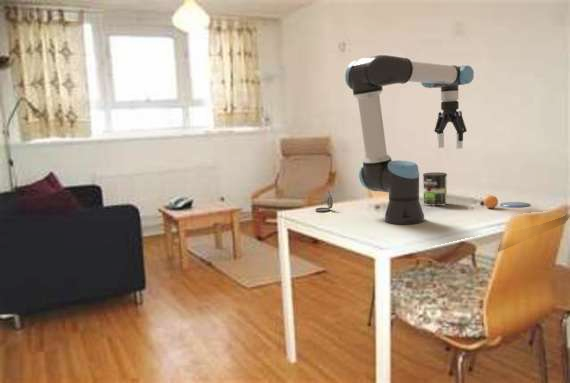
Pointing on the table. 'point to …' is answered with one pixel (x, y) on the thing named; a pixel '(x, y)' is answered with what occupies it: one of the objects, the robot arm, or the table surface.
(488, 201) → the ball
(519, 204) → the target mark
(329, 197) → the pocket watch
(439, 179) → the coffee can
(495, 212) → the table surface
